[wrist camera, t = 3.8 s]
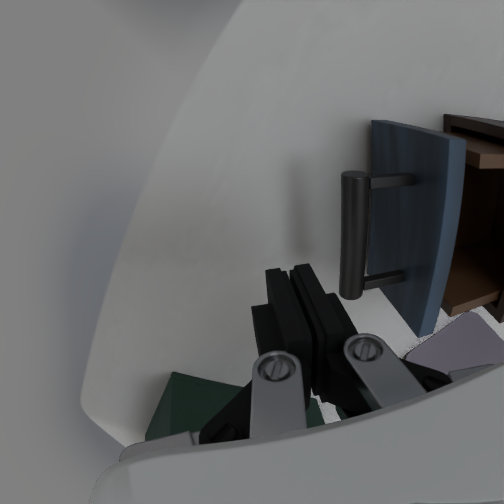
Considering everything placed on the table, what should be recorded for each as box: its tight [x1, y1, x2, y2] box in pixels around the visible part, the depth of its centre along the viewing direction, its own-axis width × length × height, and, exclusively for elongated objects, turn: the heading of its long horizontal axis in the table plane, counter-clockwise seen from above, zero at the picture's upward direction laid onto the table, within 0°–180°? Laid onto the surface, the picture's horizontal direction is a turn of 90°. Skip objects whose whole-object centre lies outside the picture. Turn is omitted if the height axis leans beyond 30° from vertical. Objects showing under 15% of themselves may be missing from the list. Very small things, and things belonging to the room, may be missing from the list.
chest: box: [145, 372, 325, 441], centre depth 27 cm, size 16×13×9 cm
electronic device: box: [406, 312, 504, 375], centre depth 26 cm, size 10×5×10 cm, turn 121°
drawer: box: [339, 120, 504, 338], centre depth 18 cm, size 18×11×8 cm, turn 96°
